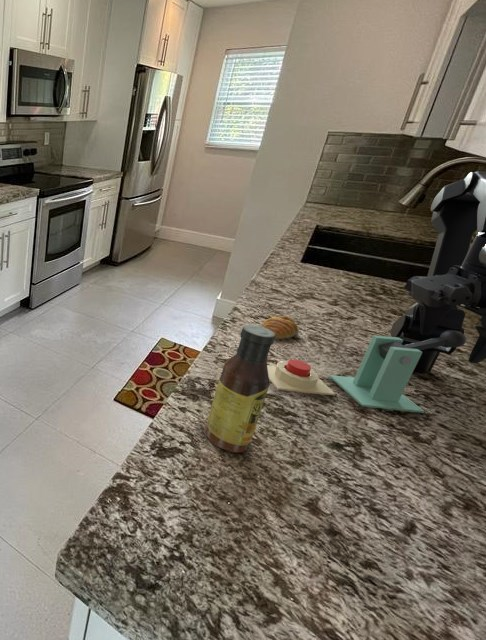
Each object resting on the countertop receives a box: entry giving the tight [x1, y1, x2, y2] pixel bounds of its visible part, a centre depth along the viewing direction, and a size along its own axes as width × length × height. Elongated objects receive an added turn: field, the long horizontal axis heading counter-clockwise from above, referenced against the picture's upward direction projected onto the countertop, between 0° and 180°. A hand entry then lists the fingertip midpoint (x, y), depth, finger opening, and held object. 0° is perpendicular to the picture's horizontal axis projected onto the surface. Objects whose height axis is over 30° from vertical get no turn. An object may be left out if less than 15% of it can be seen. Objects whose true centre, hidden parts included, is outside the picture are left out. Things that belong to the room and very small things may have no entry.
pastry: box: [261, 314, 299, 340], centre depth 99 cm, size 9×7×4 cm
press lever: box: [379, 330, 467, 359], centre depth 73 cm, size 12×3×3 cm, turn 82°
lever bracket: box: [329, 335, 425, 414], centre depth 76 cm, size 10×9×12 cm
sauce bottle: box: [205, 324, 275, 454], centre depth 62 cm, size 7×6×20 cm
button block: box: [267, 360, 336, 396], centre depth 80 cm, size 10×8×3 cm
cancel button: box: [286, 358, 312, 377], centre depth 80 cm, size 4×4×2 cm
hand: (447, 347), depth 73 cm, fingers open, 9 cm apart
